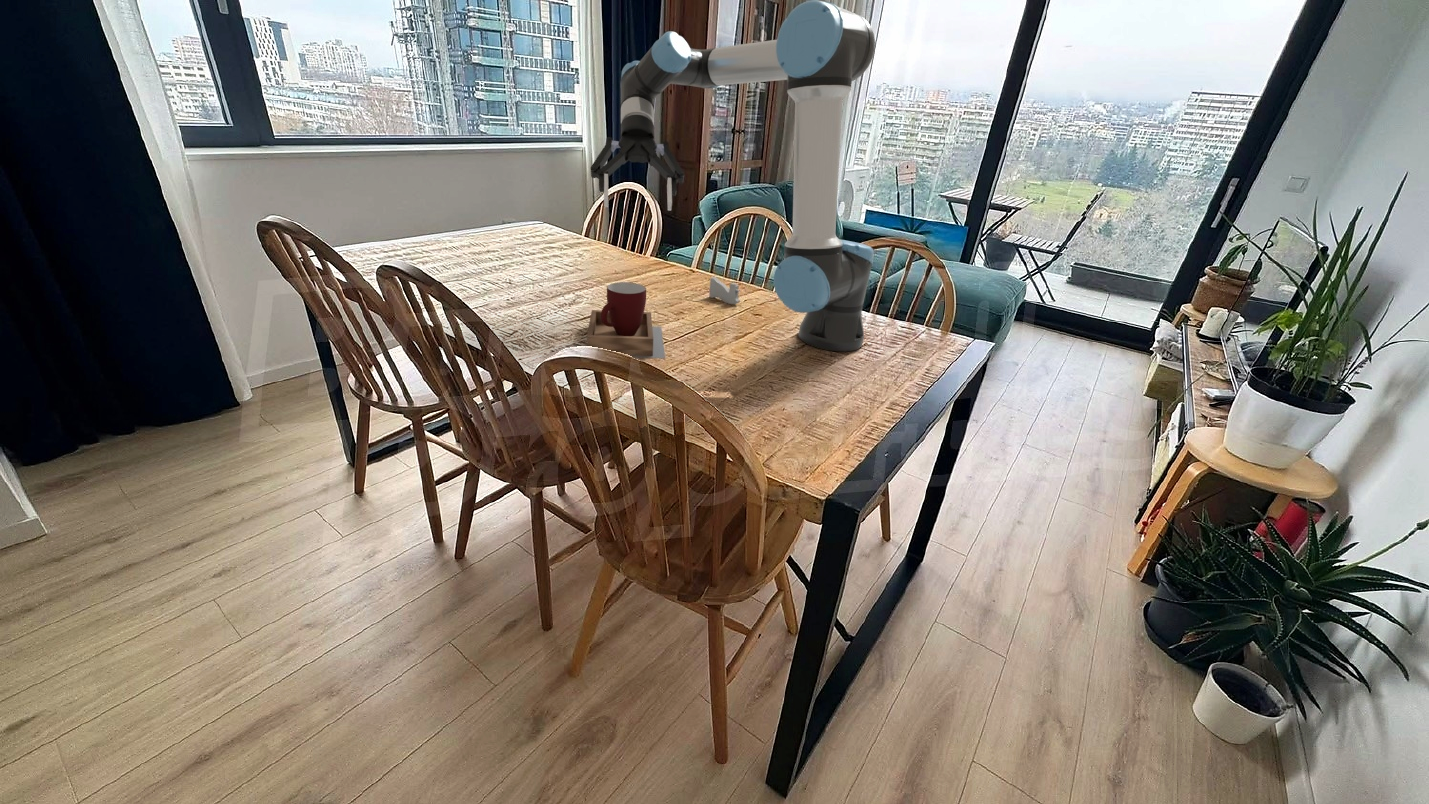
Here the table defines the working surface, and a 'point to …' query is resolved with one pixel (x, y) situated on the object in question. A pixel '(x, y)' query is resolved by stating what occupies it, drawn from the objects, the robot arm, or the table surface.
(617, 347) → the wooden tray
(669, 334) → the table surface
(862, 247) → the robot arm
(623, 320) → the mug
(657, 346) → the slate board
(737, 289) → the notched grey bracket
